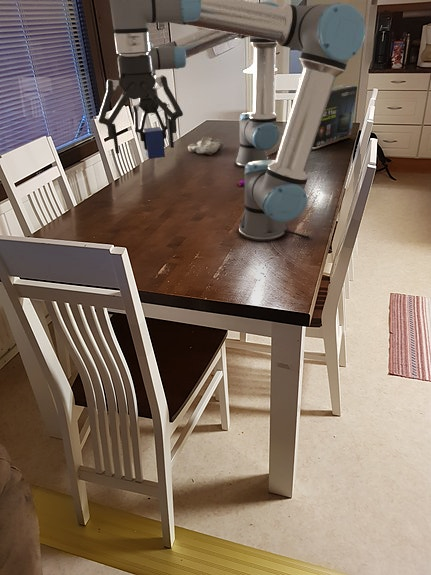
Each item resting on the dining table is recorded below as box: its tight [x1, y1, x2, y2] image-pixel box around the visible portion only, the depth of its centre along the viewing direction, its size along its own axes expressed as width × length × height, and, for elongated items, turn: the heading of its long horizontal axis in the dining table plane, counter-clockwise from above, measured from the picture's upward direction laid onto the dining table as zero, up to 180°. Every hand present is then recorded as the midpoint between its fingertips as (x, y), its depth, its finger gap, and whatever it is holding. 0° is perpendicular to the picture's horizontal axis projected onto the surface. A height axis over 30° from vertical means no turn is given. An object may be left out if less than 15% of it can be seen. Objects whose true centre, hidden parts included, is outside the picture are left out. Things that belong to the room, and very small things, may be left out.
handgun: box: [238, 180, 245, 187], centre depth 183 cm, size 21×8×2 cm, turn 11°
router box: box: [313, 84, 358, 147], centre depth 238 cm, size 36×11×27 cm, turn 134°
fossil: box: [187, 135, 224, 156], centre depth 238 cm, size 18×11×15 cm
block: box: [143, 126, 166, 160], centre depth 188 cm, size 7×7×11 cm
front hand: (144, 149), depth 115 cm, fingers open, 13 cm apart
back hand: (154, 147), depth 189 cm, fingers closed on block, 7 cm apart
